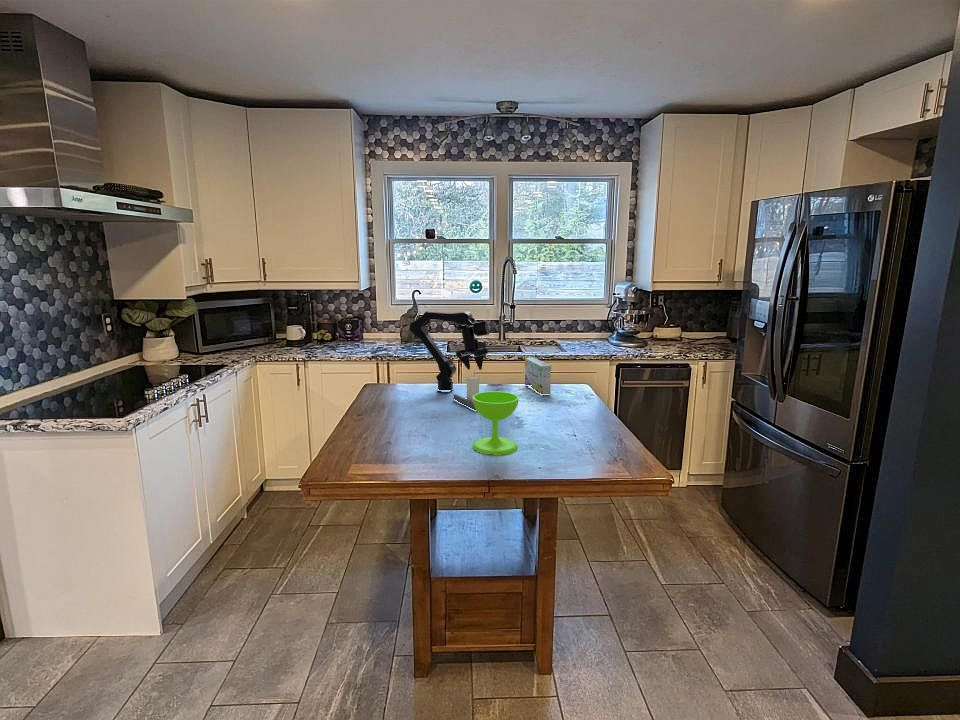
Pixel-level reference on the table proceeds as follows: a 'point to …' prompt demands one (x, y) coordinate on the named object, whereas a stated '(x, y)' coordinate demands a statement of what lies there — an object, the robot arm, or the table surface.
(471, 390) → the cream rectangular block
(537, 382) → the snack box
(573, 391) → the table surface
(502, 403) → the wineglass
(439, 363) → the robot arm
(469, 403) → the bottom track
